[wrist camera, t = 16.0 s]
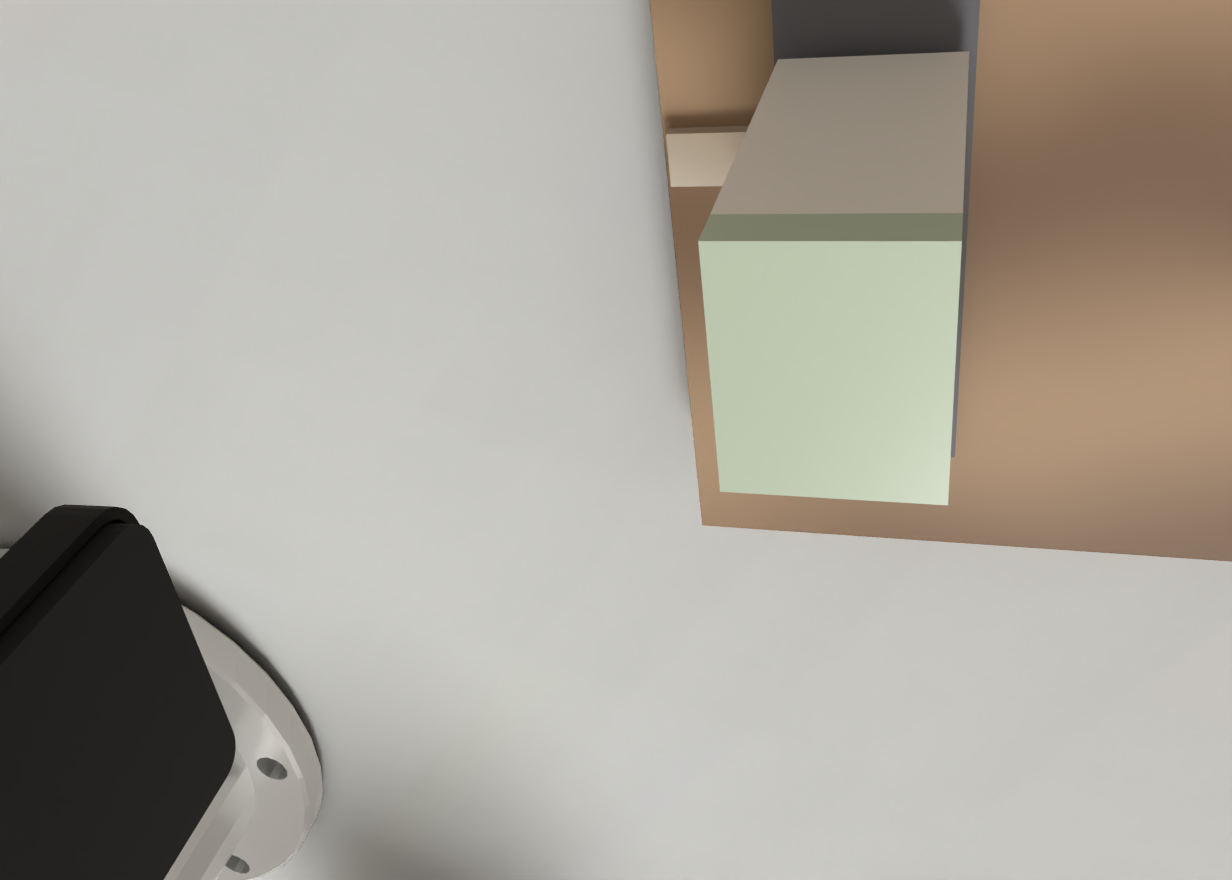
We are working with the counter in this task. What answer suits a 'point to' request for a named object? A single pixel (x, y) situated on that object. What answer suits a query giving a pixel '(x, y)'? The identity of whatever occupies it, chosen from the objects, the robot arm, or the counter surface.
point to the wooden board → (1019, 259)
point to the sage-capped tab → (840, 281)
